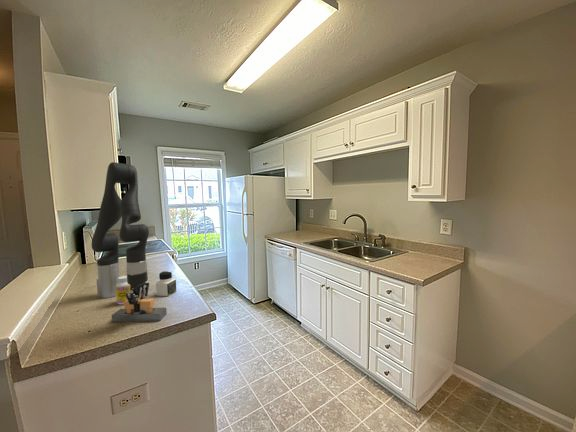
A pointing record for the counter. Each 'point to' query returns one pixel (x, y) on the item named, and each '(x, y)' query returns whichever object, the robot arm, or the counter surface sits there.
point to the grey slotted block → (139, 315)
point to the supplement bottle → (122, 289)
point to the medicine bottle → (165, 284)
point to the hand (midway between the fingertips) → (139, 309)
